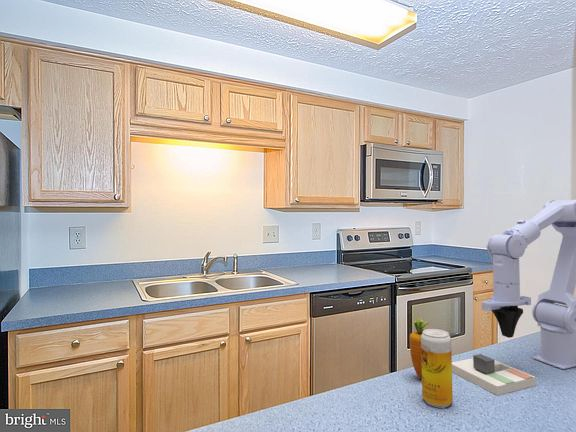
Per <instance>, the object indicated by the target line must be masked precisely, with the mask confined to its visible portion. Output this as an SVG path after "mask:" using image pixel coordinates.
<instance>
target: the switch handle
mask: <svg viewBox="0 0 576 432" xmlns="http://www.w3.org/2000/svg"><path fill="white" fill-rule="evenodd" d="M472 358H473V368H476V369H478V372H480V373H483V374H489V373H494V372H495V360H496V359H494V358H492V357H489V356H487V355H484V354H482V353H479V354H473V356H472Z"/></svg>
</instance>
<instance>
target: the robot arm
mask: <svg viewBox="0 0 576 432" xmlns="http://www.w3.org/2000/svg"><path fill="white" fill-rule="evenodd" d="M550 226H552V227H553V229H554V230H555V232H558V233H560V234H561V236H562V239H561V243H560V247H559V250H558V254H557V258H556V263H555V266H554V271H553V274H552V279H551V282H550V286H549V289H548V290H546V291H544V292H542V293H540V294H538V295H537V297H538V298H537V300H536V302H535V303H534V304H533V306H532V310H531V314H532V317H533V320H534V321H535V322H536V323H537V327H539V328H540V355H535V356H533V357H532V358H533V360H537V361H539V362H543V364H548V365H550V366H553V367H555V368H557V369H562V370H566V369H570V368H575V367H576V297H575V296H574V293H575V289H576V199H559V200H558V199H557V200H556V199H551V200H549V201H547V202H546V203H544V204H543V207H542V209H541V210H540V211H539V212H537V214H535V216H533V217H531V218H530V219H519V220H516V224H514V225H513V226H511V227H509V228H506V229H505V230H504V232H503V233H500V234H499V233H498V234H497V233H496V234H494V235H492V236H491V237H490V238H489V239H488V242H487V244H486V249H487V252H488V254H489V256H490V261H491V263H492V277H493V279H492V280H493V282H492V283H493V296H490V299H487V300H484V301H481V310H483V311H486V312H492V313H493V315H494V317H495V318H496V321H497V323H498V326H499V328H500V329H499V330H500V332H501V333H500V334H501V336H502V337H505V338H513V337H514V335H515V331H516V328H517V324H518V322H519V320H520V318H521V317H522V315H523V314H524V309H523V308H521V307H520V306H531V305H532V298H531V297H529V296H526V295H525V296H524V295H522V296H521V283H520V281H521V280H520V276H521V275H520V258H521V257H523V255H524V253H525V252H526V249H527V248H528V246H529V245H530V244H532V243H533V242H535V241H536V240H537V239H539V238H540V236H541V234H542V233H541V231H542V230H545V229H546V228H547V227H550Z"/></svg>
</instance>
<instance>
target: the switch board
mask: <svg viewBox="0 0 576 432" xmlns="http://www.w3.org/2000/svg"><path fill="white" fill-rule="evenodd" d="M494 360H495V372H494V373H489V374H483V373H480V372H478V369H476V368H473V357H471V358H467V359H463V360H457V361H453V362H452V374H453V373H454V374H455V375H458V376H459V377H460V378H463V379H465V380H466V381H469V382H471V383H473V384H475V385H476V386H479V387H480V388H482V389H484V390H486V391H488V392H490V393H492V394H494V395H496V396H501V395H505V394H508V393H512V392H516V391H519V390H524V389H528V388H531V387H536V385H537V383H536V376H534V375H531V374H529V373H526V372H525V371H523V370H519V369H517V368H515V367H512V366H510V365H508V364H505V363H503V362H501V361H498V360H496V359H494Z"/></svg>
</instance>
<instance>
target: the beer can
mask: <svg viewBox="0 0 576 432" xmlns="http://www.w3.org/2000/svg"><path fill="white" fill-rule="evenodd" d="M452 350H453V349H452V338H451V336H450V333H449V331H446V330H443V329H439V328H438V329H437V328H427V329H426V328H425V330H424V331H423V333H422V335H421V360H422V379H421V393H422V394H421V396H422V398H423V400H424V401H425V403H426V404H428V405H429V406H431V407H434V408H437V409H438V408H439V409H445V408H448V407H449V406H450V405H451V404H452V403H453V399H454V398H453V394H454V393H453V372H452V359H453V358H452Z"/></svg>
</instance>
